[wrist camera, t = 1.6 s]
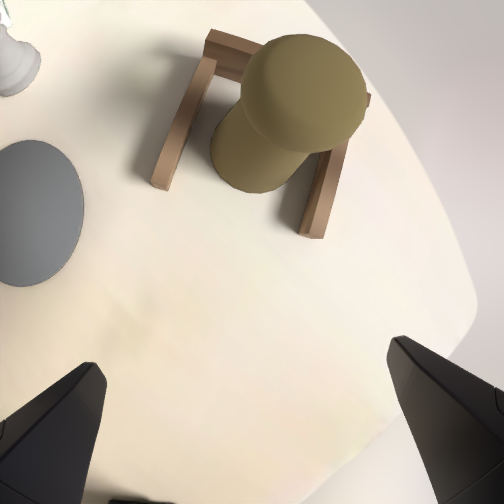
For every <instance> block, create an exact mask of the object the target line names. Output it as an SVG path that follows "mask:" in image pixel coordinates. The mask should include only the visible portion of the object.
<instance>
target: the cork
mask: <svg viewBox="0 0 504 504" xmlns="http://www.w3.org/2000/svg"><path fill="white" fill-rule="evenodd" d="M366 107H367V91H366V83H365V81H364V78H363V76H362V73H361V71H360V69H359V68H358V66H357V65H356V64H355V62H354V61H353V60H352V58H351V57H350V56H349V55H348V54H347V53H346V52H344V51H343V50H342V49H341V48H340V47H338V46H337V45H335V44H333V43H331V42H329V41H327V40H325V39H323V38H321V37H316V36H312V35H308V34H295V35H285V36H282V37H279V38H276V39H274V40H271V41H268V42H267V43H266V44H265V45H264V46H263V47H262V48H260V49H259V50H258V51H257V52H256V53H255V54H254V55H253V56H251V58H250V60H249V62H248V64H247V66H246V68H245V71H244V73H243V76H242V78H241V98H240V99H239V100H238V102H237V103H236V104H235V105H234V106H233V108H232V109H231V110H230V111H229V112H228V113H227V115H226V116H225V117H224V118H223V120H222V121H221V122H220V123H219V124H218V126H217V127H216V129H215V131H214V133H213V136H212V138H211V146H210V155H211V158H212V162H213V165H214V168H215V169H216V171H217V172H218V174H219V175H220V176H221V178H222V179H223V180H224V181H226V182H227V183H228V184H229V185H231V186H232V187H233V188H236V189H238V190H241V191H244V192H246V193H260V194H261V193H265V192H269V191H273V190H275V189H277V188H278V187H280V186H281V185H283V184H284V183H286V181H287V180H288V179H289V178H290V177H291V176H292V174H293V173H294V172H295V171H296V170H297V169H298V167H299V166H300V165H301V164H302V163H303V162H304V160H305V159H306V158H307V157H308V156H309V155H310V153H317V152H322V151H328V150H331V149H333V148H335V147H336V146H338V145H340V144H341V143H343V142H345V141H346V140H348V139H349V138H351V136H352V135H353V133H354V132H355V131H356V129H357V128H358V127H359V125H360V124H361V122H362V121H363V119H364V115H365V111H366Z"/></svg>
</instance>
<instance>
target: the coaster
mask: <svg viewBox="0 0 504 504" xmlns="http://www.w3.org/2000/svg"><path fill="white" fill-rule="evenodd" d="M83 217H84V198H83V191H82V186H81V182H80V179H79V176H78V174H77V172H76V170H75V168H74V166H73V165H72V163H71V162H70V160H69V159H68V158H67V157H66V156H65V155H64V154H63V153H62V152H61V151H59V150H58V149H57V148H55V147H53V146H52V145H50V144H47V143H45V142H41V141H36V140H27V141H21V142H18V143H14V144H12V145H10V146H8V147H6V148H5V149H3V150H2V151H0V281H1V282H2V283H5V284H7V285H11V286H16V287H26V286H32V285H35V284H38V283H41V282H43V281H45V280H47V279H49V278H50V277H52V276H53V275H55V274H56V273H57V272H58V271H59V270H60V269H61V268H62V267H63V266H64V264H65V263H66V262H67V261H68V259H69V258H70V256H71V254H72V253H73V251H74V249H75V247H76V244H77V242H78V239H79V236H80V233H81V229H82V224H83Z"/></svg>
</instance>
